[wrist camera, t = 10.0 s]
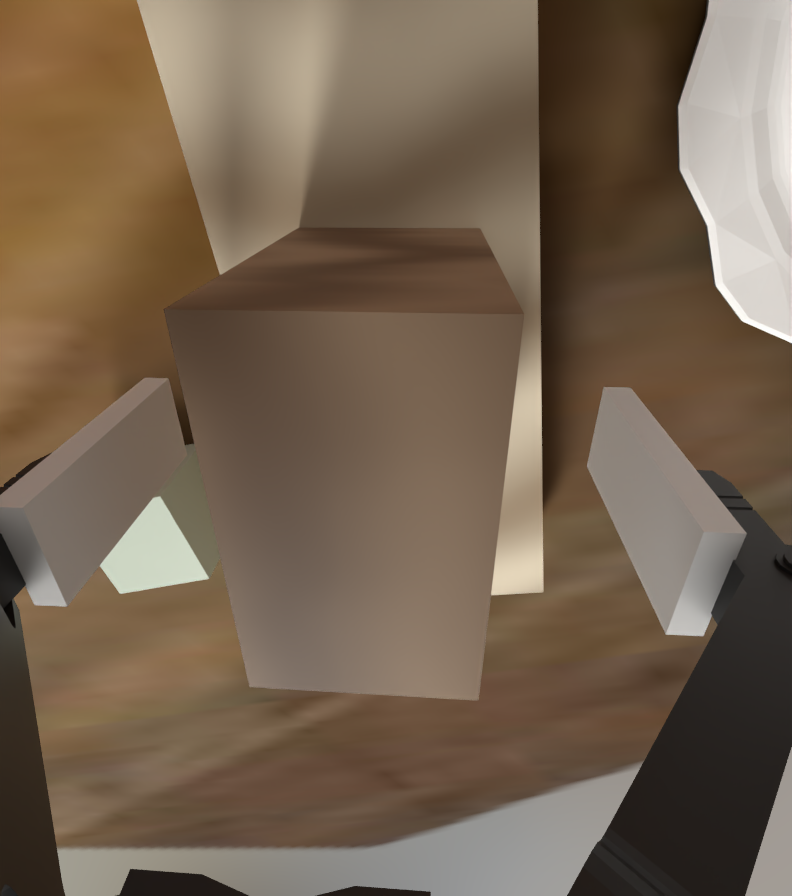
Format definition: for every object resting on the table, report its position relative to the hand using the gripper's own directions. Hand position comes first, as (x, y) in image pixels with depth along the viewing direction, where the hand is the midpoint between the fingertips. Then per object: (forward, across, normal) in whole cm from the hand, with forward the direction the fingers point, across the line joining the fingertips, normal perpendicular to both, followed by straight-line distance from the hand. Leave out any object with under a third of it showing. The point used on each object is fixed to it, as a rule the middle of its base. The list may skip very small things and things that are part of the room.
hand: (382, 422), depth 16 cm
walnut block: (+4, 0, 0) cm, 4 cm away
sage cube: (+9, +12, +9) cm, 17 cm away
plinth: (+9, 0, 0) cm, 9 cm away
